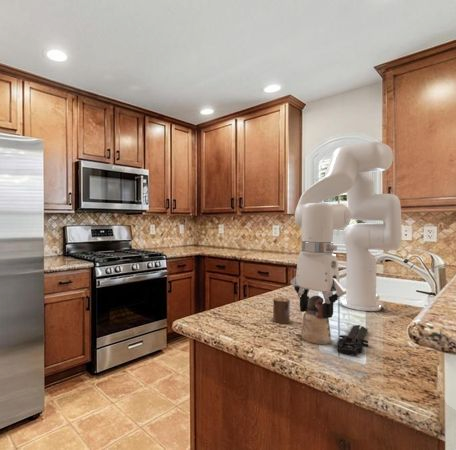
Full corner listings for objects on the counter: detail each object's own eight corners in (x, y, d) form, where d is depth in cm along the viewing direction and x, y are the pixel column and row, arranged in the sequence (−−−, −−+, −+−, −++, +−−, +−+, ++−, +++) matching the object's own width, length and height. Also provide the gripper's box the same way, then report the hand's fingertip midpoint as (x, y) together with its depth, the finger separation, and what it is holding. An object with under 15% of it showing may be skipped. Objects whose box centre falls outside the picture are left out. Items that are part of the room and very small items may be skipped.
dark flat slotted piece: (354, 326, 96) (354, 322, 96) (379, 331, 92) (379, 327, 92) (328, 349, 78) (329, 344, 78) (359, 358, 74) (359, 352, 74)
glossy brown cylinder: (280, 317, 104) (280, 296, 104) (293, 322, 100) (293, 300, 100) (269, 320, 102) (270, 298, 101) (282, 324, 97) (283, 302, 97)
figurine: (324, 334, 88) (325, 292, 88) (335, 345, 81) (336, 299, 81) (297, 333, 89) (298, 291, 89) (306, 343, 82) (307, 298, 82)
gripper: (357, 250, 79) (356, 321, 79) (297, 245, 94) (296, 304, 94) (340, 251, 75) (339, 325, 76) (280, 246, 90) (280, 308, 91)
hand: (315, 313), depth 85 cm, fingers closed on figurine, 6 cm apart
